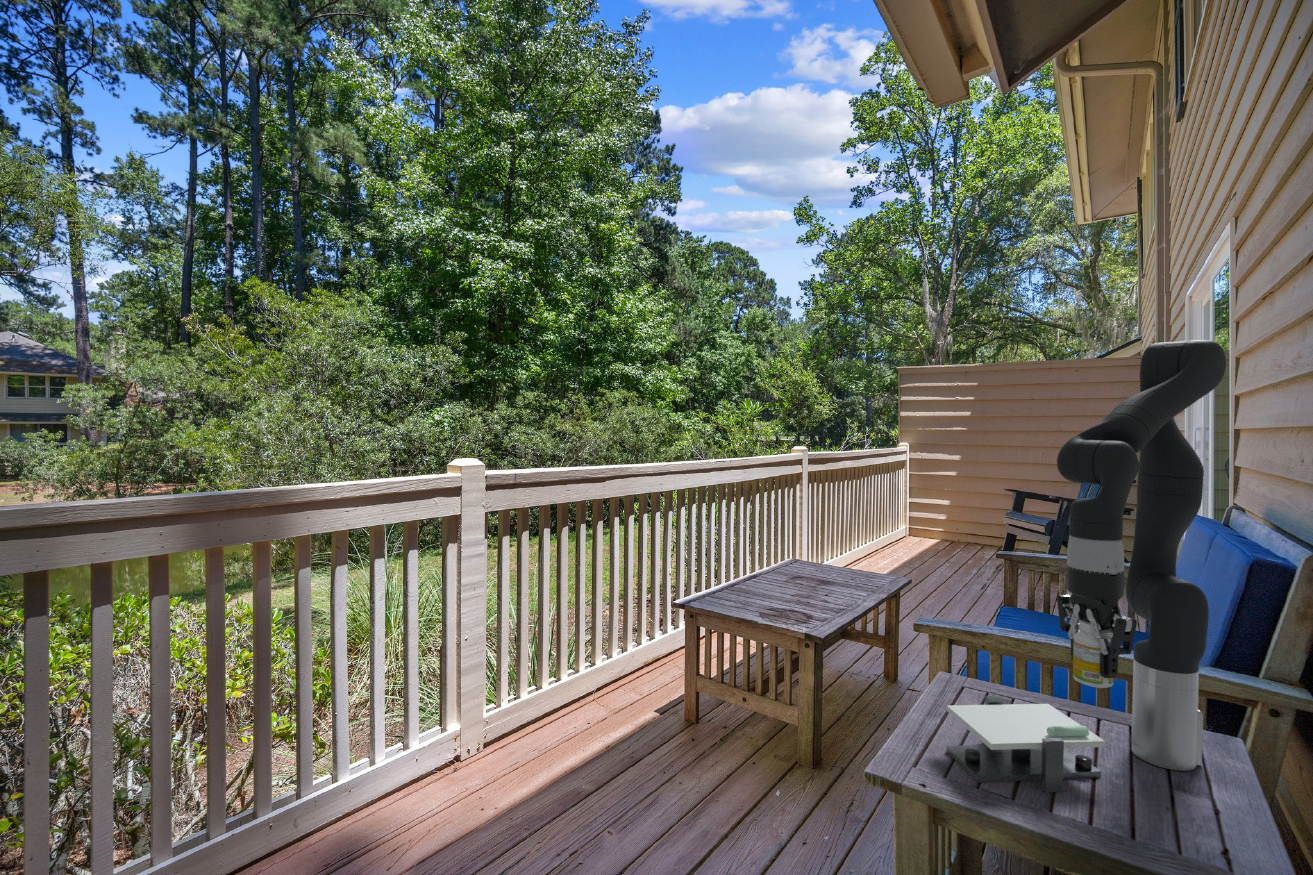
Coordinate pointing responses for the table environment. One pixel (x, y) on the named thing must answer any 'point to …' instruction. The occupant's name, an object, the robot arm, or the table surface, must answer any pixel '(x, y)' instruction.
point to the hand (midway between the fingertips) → (1093, 669)
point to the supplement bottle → (1088, 657)
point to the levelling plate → (1022, 726)
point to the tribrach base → (1024, 761)
